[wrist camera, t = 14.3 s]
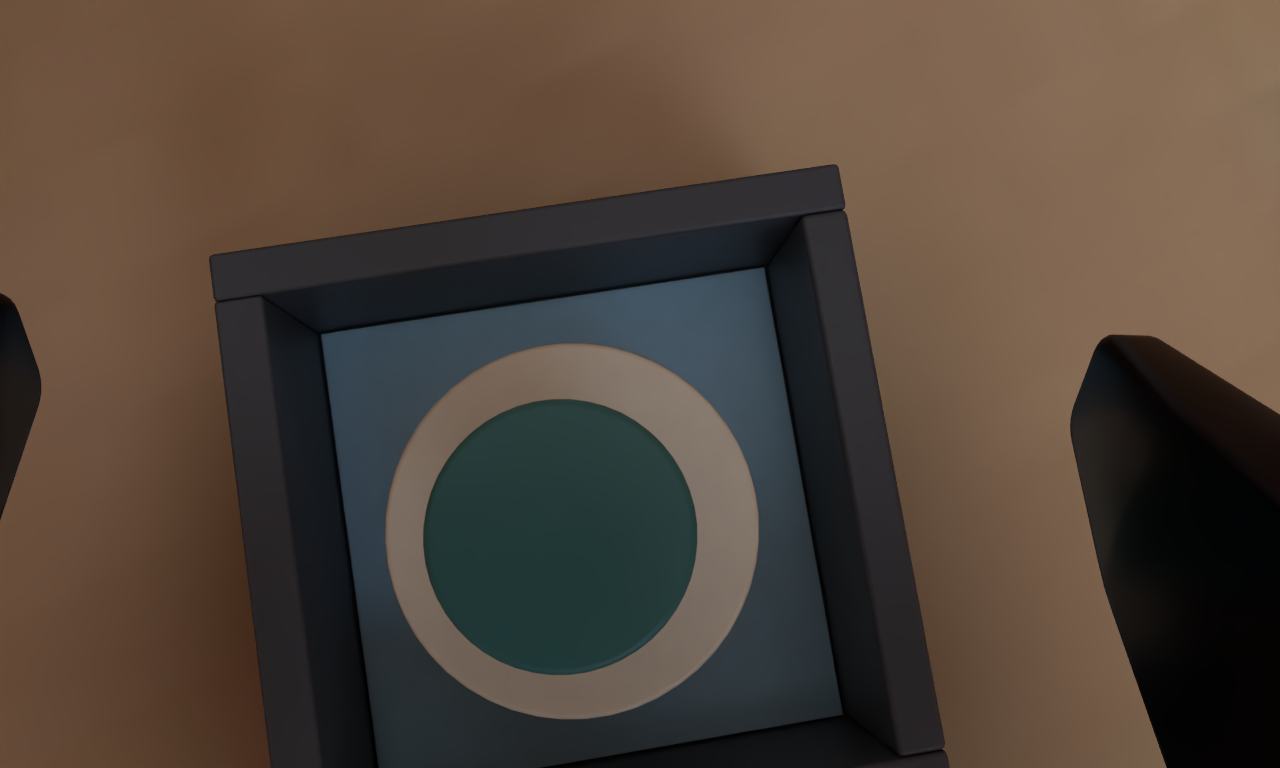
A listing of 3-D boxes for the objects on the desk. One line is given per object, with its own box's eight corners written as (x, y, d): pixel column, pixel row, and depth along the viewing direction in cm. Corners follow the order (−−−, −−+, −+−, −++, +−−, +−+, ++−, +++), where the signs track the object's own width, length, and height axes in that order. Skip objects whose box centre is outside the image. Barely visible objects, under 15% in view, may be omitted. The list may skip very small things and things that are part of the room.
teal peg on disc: (789, 566, 22) (1000, 619, 11) (533, 746, 22) (468, 1004, 10) (617, 314, 23) (645, 108, 11) (361, 484, 22) (114, 449, 11)
